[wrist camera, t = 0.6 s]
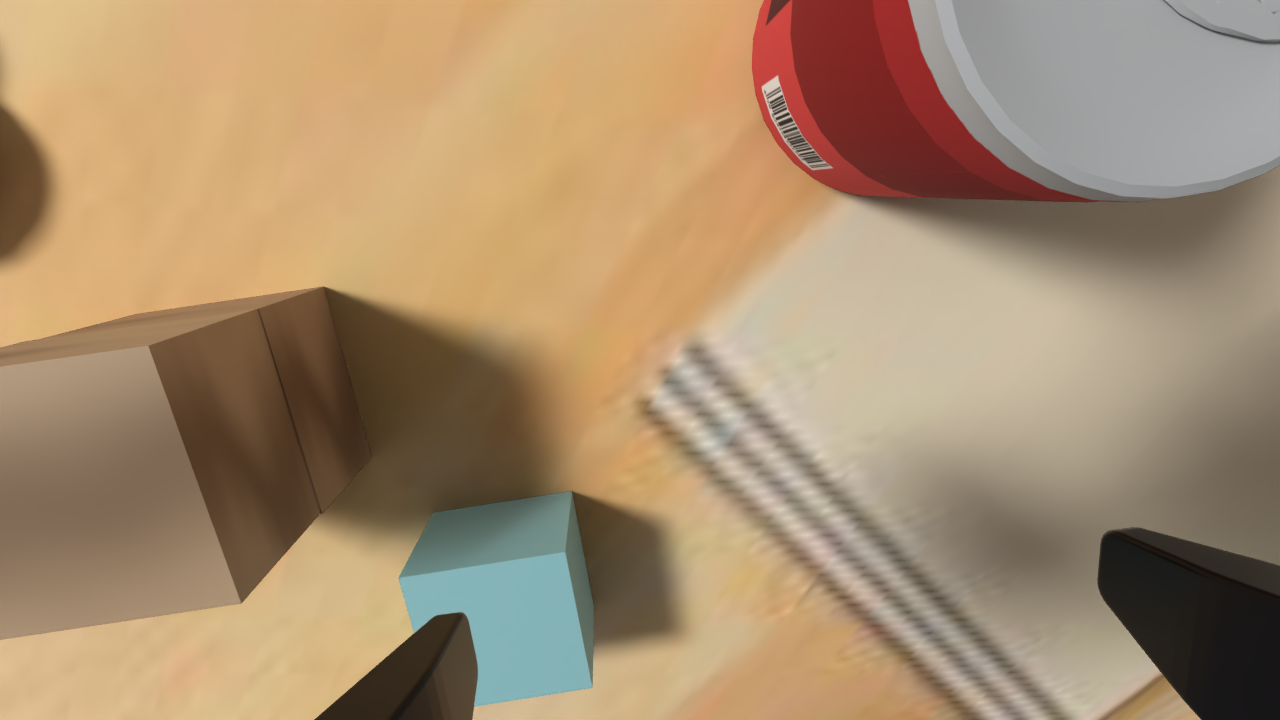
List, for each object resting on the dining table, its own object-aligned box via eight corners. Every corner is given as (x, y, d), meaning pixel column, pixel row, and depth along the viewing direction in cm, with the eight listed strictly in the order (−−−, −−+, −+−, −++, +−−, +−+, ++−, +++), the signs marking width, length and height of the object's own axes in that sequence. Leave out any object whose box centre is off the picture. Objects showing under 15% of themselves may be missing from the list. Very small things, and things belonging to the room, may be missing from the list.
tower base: (373, 455, 22) (322, 513, 18) (200, 482, 21) (111, 545, 18) (325, 285, 20) (258, 308, 16) (138, 313, 20) (26, 342, 16)
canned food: (946, 222, 20) (1317, 257, 10) (713, 160, 19) (844, 124, 9) (1038, -33, 18) (1623, -335, 8) (786, -115, 18) (1062, -581, 7)
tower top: (320, 513, 18) (241, 603, 14) (109, 544, 18) (-31, 644, 14) (257, 308, 16) (147, 345, 12) (24, 341, 16) (-161, 389, 12)
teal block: (594, 606, 24) (592, 687, 20) (464, 626, 24) (436, 712, 20) (572, 489, 22) (565, 551, 18) (434, 510, 22) (398, 578, 18)
